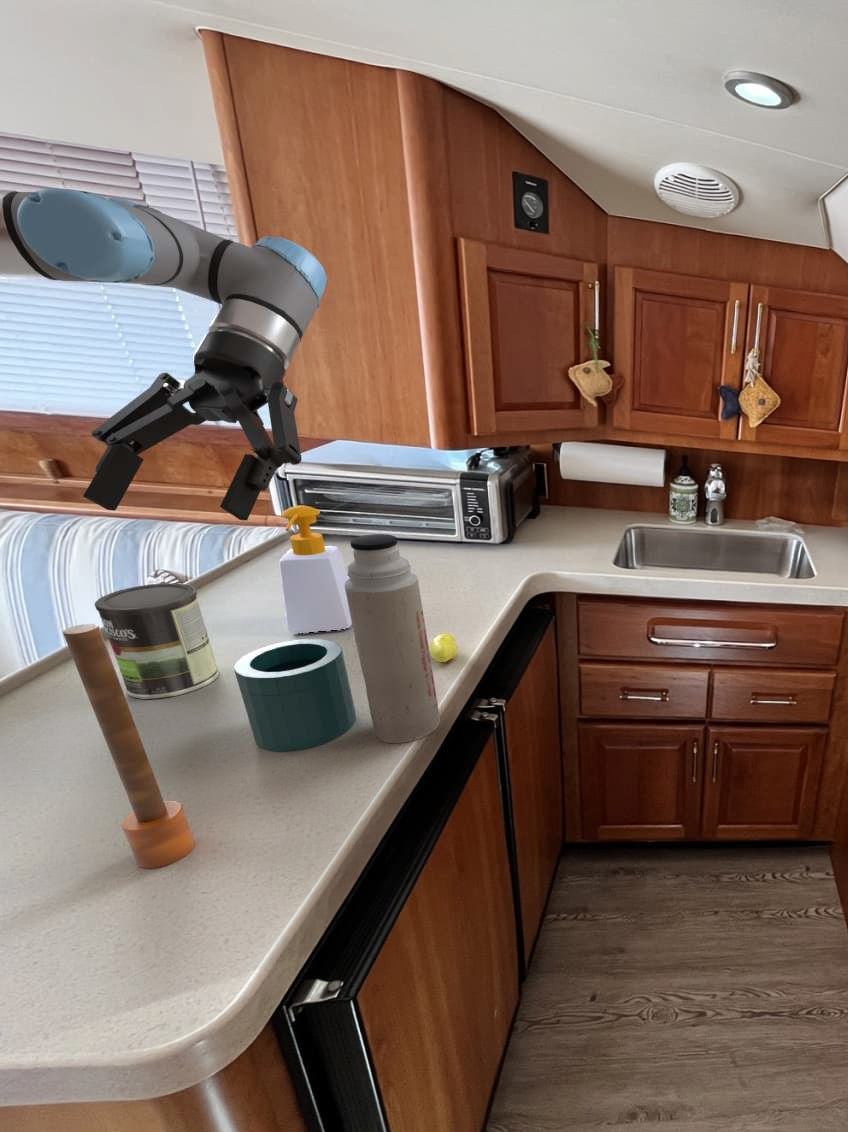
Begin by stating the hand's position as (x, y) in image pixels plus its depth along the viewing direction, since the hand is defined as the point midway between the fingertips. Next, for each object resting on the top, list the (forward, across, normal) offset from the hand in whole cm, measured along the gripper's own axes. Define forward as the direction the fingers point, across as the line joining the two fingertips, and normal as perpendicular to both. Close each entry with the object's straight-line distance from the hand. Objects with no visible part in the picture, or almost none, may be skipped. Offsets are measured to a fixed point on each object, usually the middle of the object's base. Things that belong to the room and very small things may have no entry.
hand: (166, 509), depth 66 cm
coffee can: (+10, +26, -38) cm, 47 cm away
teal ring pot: (+16, 0, -31) cm, 35 cm away
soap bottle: (-4, +18, -52) cm, 56 cm away
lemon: (+1, -8, -47) cm, 48 cm away
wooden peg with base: (+33, -2, -15) cm, 36 cm away
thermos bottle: (+15, -13, -32) cm, 38 cm away
